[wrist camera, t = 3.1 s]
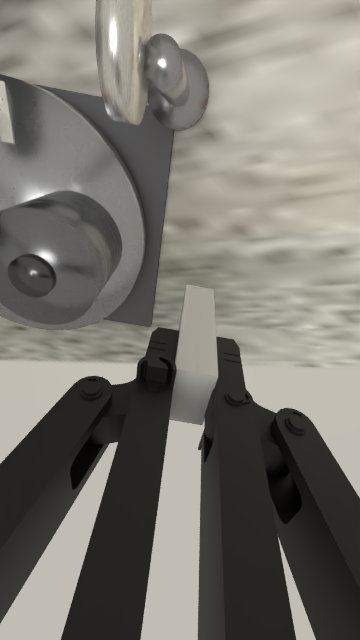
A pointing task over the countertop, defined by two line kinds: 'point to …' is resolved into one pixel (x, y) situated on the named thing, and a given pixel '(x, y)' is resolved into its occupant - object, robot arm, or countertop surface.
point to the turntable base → (151, 183)
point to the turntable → (68, 179)
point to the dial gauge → (145, 68)
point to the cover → (56, 256)
